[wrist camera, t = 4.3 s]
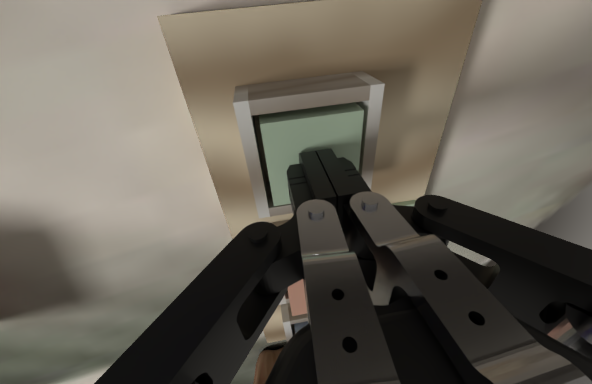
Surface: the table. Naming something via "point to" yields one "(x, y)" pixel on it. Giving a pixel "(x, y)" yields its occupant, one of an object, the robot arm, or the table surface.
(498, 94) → the table surface
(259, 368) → the cupcake
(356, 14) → the button panel
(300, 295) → the terracotta button
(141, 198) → the table surface
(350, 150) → the sage button
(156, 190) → the table surface
